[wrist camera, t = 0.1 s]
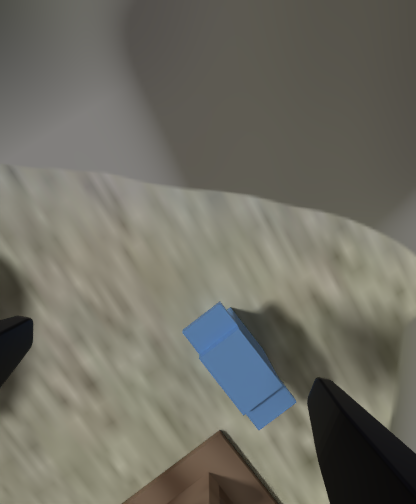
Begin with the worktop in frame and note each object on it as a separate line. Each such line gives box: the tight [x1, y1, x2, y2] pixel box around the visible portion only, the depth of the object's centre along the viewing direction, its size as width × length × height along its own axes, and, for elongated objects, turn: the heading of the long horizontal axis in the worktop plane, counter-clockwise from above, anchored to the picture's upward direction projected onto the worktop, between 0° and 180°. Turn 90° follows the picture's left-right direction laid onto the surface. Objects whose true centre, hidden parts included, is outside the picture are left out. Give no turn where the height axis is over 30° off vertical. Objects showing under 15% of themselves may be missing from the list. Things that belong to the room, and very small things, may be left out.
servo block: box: [182, 302, 296, 430], centre depth 21 cm, size 3×9×6 cm, turn 37°
